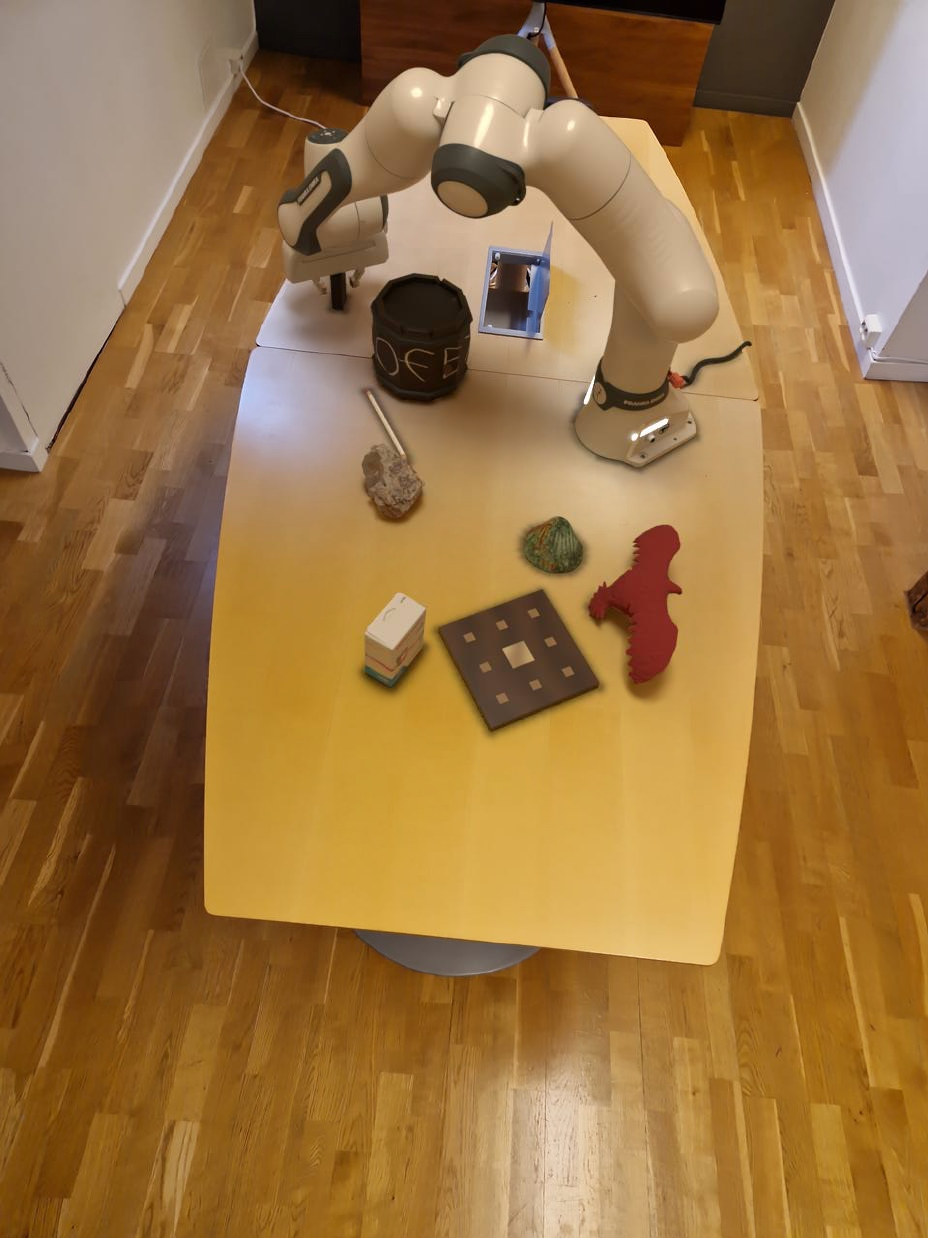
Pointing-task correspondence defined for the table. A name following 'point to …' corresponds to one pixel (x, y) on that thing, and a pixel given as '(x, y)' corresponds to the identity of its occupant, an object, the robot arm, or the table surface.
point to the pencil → (385, 423)
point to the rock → (391, 481)
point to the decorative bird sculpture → (645, 602)
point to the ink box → (394, 639)
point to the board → (517, 659)
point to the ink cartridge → (338, 290)
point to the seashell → (553, 546)
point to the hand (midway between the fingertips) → (338, 289)
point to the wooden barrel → (420, 337)
